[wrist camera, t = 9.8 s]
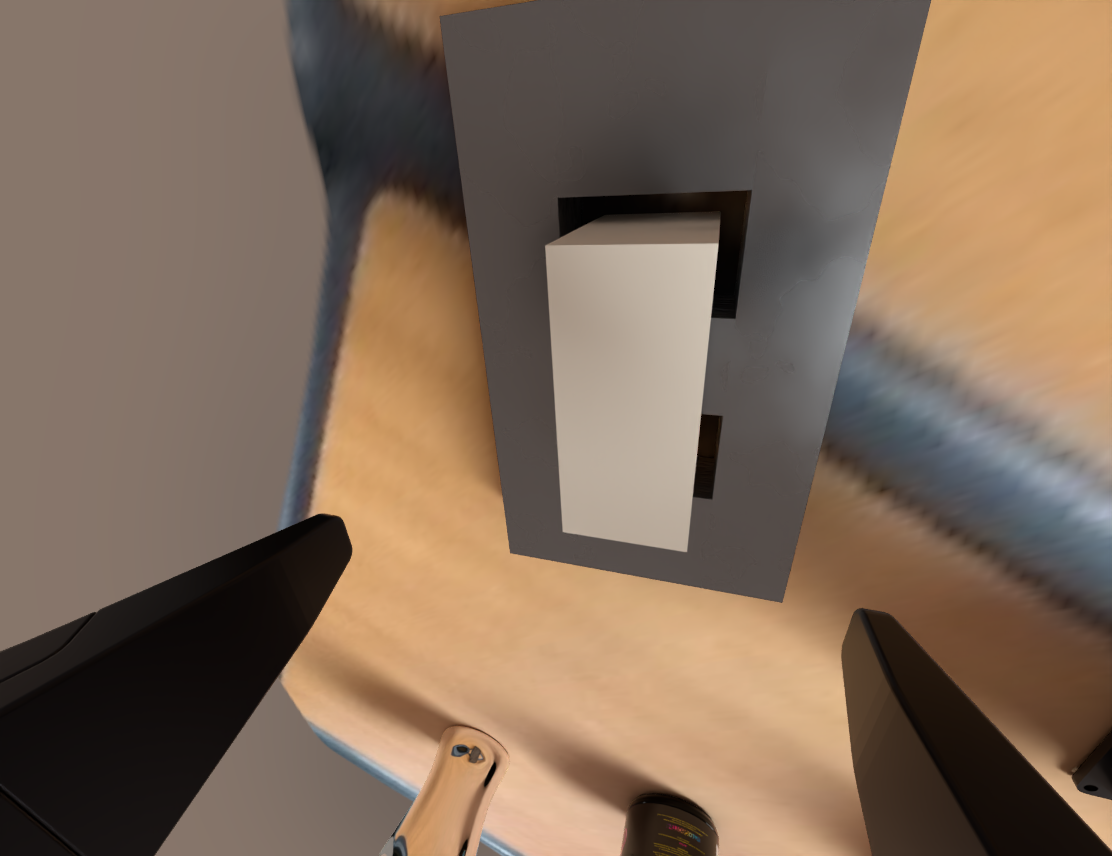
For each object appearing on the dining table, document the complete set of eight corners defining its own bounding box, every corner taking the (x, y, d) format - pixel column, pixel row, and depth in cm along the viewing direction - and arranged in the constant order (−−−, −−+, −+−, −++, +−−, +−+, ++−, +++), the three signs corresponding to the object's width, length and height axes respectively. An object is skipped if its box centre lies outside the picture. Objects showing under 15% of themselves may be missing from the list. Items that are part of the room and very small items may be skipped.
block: (697, 440, 21) (687, 552, 15) (606, 430, 22) (562, 532, 16) (720, 211, 16) (718, 243, 11) (605, 214, 17) (545, 245, 12)
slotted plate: (775, 552, 22) (782, 602, 20) (531, 514, 26) (510, 552, 23) (903, -23, 13) (947, -67, 10) (484, 37, 16) (439, 16, 13)
